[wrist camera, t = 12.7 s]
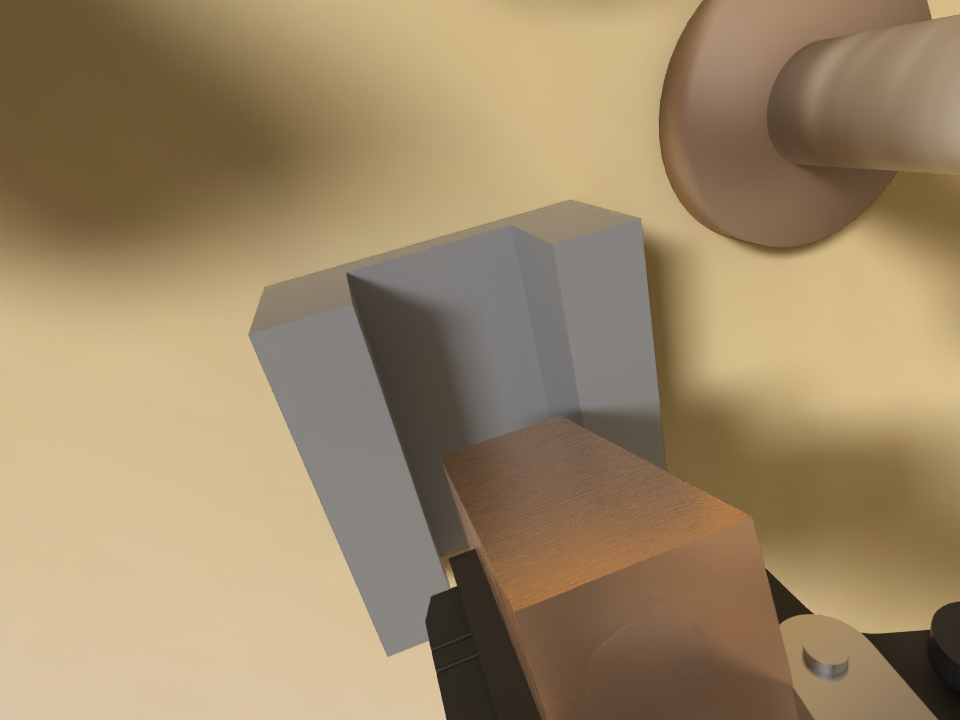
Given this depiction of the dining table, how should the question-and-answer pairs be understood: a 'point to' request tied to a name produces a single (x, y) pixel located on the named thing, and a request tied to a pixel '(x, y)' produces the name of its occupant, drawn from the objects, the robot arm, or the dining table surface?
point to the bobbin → (806, 111)
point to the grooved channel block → (454, 378)
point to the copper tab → (620, 581)
